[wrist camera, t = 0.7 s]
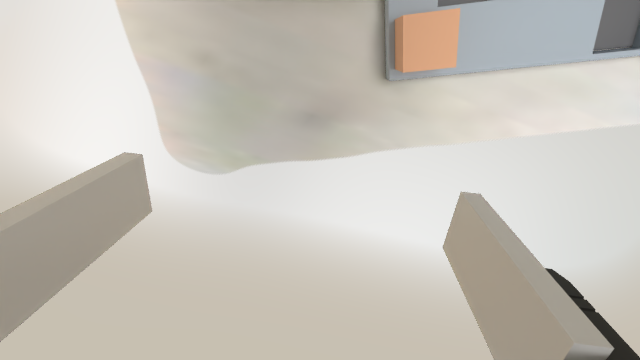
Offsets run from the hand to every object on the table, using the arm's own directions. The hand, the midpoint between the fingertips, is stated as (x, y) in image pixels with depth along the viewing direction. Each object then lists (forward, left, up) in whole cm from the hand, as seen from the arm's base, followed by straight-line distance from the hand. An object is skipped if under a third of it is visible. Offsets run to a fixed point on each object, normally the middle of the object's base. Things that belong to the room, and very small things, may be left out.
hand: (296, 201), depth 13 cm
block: (-10, +2, -18) cm, 21 cm away
